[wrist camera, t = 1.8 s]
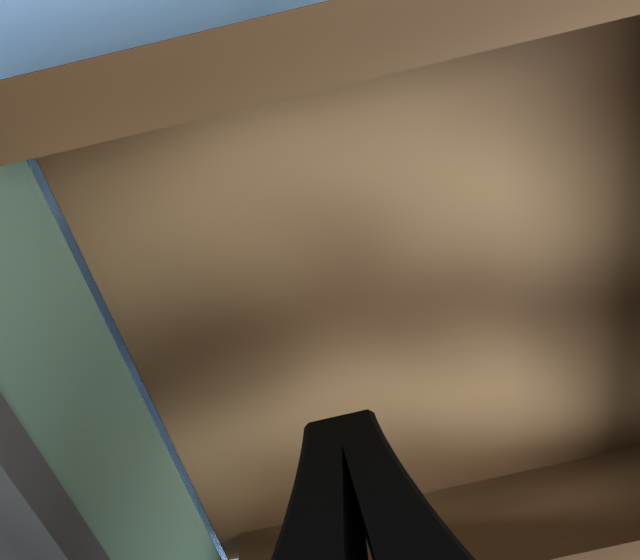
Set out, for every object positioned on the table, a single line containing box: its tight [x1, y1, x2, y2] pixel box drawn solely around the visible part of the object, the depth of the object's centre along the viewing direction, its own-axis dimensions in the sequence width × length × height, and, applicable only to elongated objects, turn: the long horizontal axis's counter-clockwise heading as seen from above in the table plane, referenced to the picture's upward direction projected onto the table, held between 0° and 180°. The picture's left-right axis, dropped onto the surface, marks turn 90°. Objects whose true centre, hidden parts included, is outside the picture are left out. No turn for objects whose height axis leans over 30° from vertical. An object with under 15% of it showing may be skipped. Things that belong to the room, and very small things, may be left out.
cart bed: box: [0, 0, 640, 560], centre depth 12 cm, size 16×16×6 cm
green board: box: [0, 160, 222, 560], centre depth 11 cm, size 17×1×5 cm, turn 12°
